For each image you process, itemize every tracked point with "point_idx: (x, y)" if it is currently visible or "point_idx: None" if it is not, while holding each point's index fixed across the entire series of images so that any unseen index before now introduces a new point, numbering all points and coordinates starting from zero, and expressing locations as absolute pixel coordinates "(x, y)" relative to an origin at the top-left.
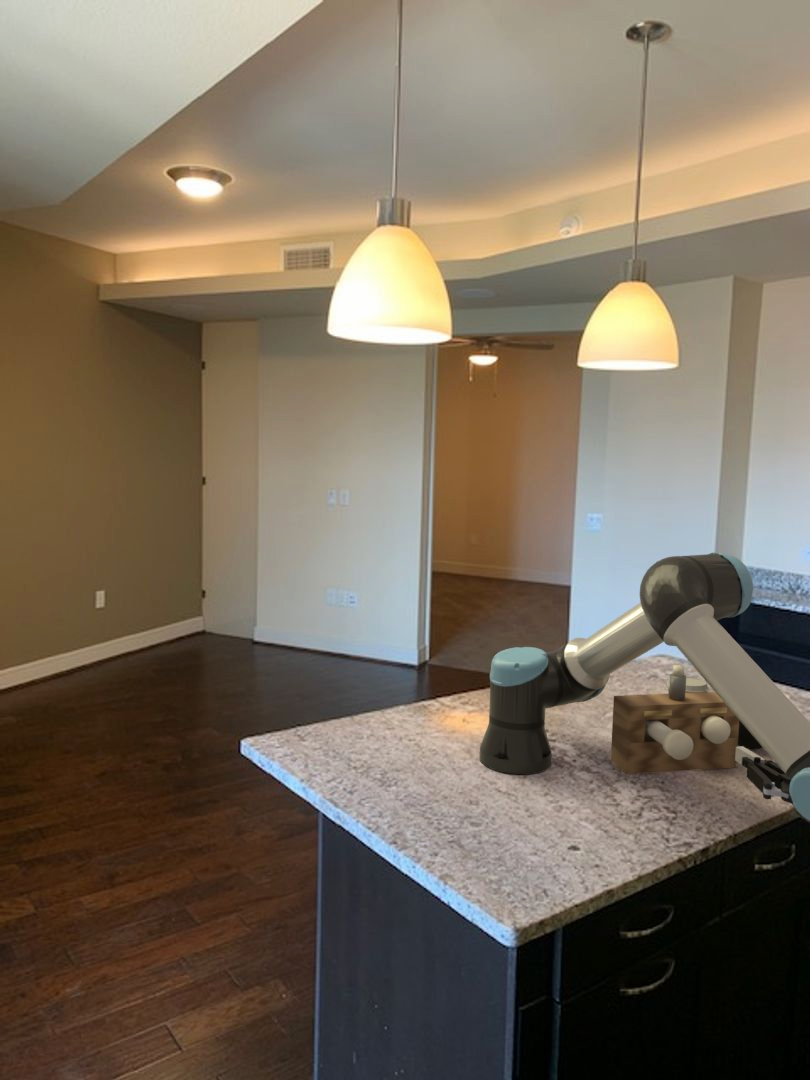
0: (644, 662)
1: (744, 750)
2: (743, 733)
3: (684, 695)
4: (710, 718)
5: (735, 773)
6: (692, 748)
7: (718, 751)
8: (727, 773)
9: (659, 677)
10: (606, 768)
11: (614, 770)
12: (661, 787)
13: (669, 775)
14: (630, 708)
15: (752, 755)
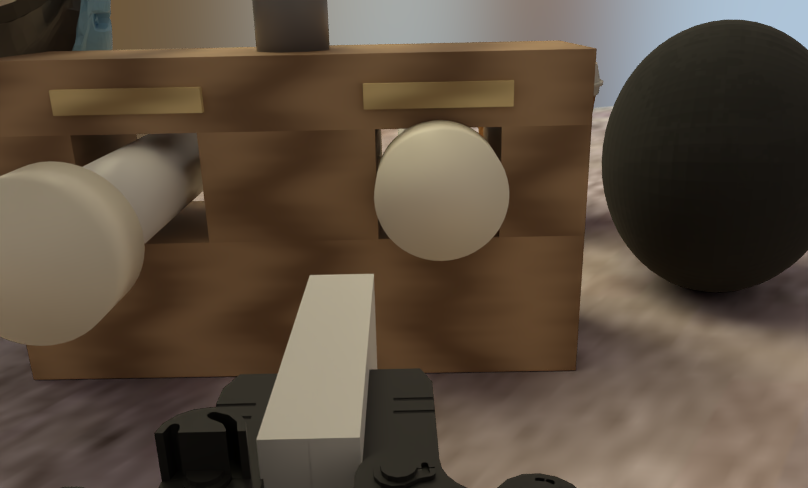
0: (600, 110)
1: (317, 310)
2: (660, 226)
3: (307, 25)
4: (409, 131)
5: (543, 404)
6: (111, 278)
7: (482, 297)
8: (502, 401)
9: (602, 128)
10: (15, 347)
11: (27, 358)
12: (46, 475)
13: (211, 397)
14: None
15: (298, 369)
